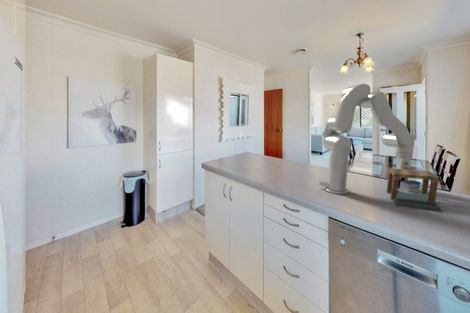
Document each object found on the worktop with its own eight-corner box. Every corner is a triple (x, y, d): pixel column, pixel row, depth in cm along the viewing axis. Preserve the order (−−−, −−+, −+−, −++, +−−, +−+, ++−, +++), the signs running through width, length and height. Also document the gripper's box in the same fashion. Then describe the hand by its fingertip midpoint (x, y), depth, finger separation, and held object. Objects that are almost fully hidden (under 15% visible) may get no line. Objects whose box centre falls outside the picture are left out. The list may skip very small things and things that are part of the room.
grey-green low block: (397, 199, 108) (399, 186, 107) (387, 185, 130) (389, 174, 129) (427, 203, 103) (430, 189, 102) (412, 188, 125) (414, 176, 124)
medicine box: (407, 200, 108) (409, 183, 107) (398, 197, 113) (400, 181, 111) (418, 198, 110) (421, 182, 109) (409, 195, 115) (411, 179, 113)
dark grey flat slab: (396, 205, 102) (396, 201, 101) (393, 201, 107) (394, 197, 107) (440, 211, 95) (441, 207, 94) (435, 206, 100) (435, 202, 100)
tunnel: (391, 199, 109) (394, 173, 107) (386, 191, 121) (389, 168, 119) (434, 204, 102) (438, 177, 100) (425, 195, 114) (428, 171, 111)
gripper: (416, 157, 115) (412, 190, 118) (408, 153, 129) (404, 182, 132) (399, 156, 118) (395, 188, 121) (393, 152, 132) (390, 181, 135)
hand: (400, 185), depth 127 cm, fingers closed on grey-green low block, 2 cm apart
